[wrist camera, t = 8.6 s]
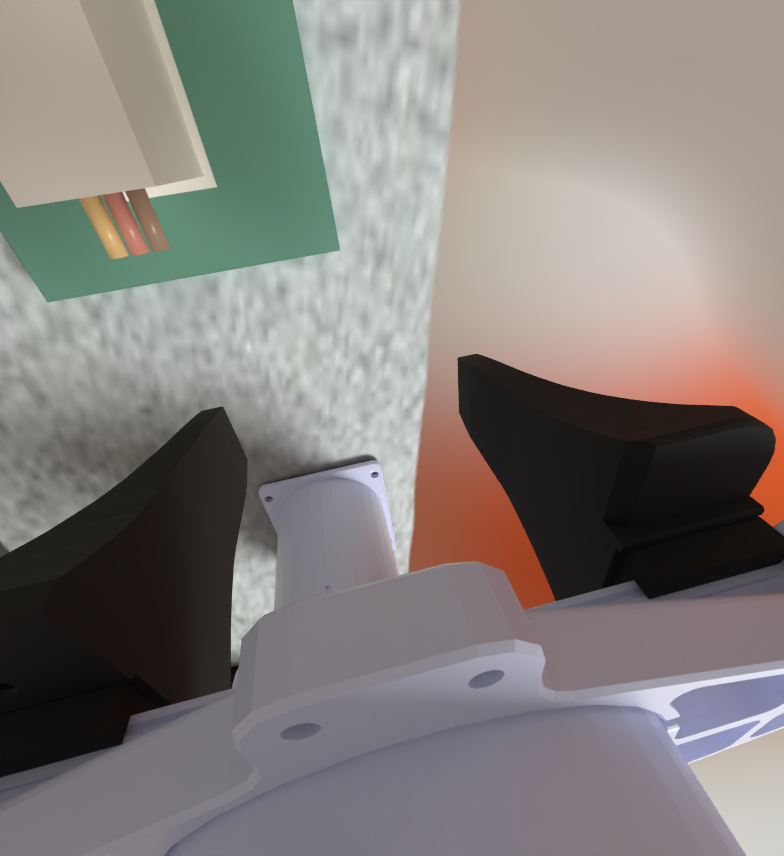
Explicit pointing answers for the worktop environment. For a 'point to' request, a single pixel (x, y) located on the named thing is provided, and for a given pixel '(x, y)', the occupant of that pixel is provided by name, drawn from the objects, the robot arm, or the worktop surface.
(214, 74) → the circuit board
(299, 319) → the worktop surface
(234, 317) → the worktop surface
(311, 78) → the worktop surface
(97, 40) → the block
